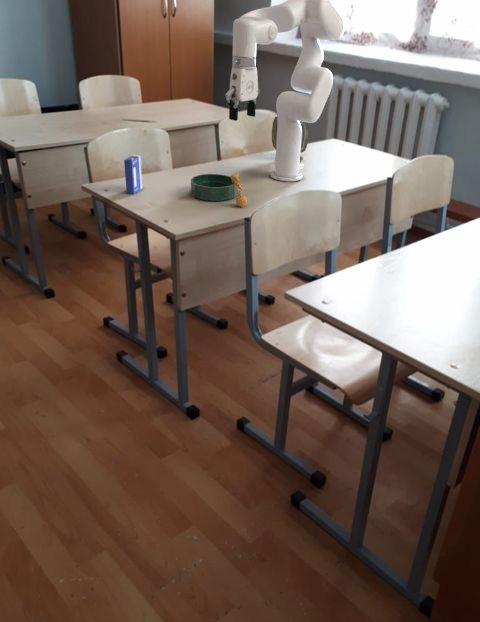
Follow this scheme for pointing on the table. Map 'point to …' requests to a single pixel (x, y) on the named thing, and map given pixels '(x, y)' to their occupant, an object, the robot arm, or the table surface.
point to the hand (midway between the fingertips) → (242, 118)
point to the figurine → (240, 199)
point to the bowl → (213, 187)
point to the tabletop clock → (303, 141)
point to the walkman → (133, 174)
